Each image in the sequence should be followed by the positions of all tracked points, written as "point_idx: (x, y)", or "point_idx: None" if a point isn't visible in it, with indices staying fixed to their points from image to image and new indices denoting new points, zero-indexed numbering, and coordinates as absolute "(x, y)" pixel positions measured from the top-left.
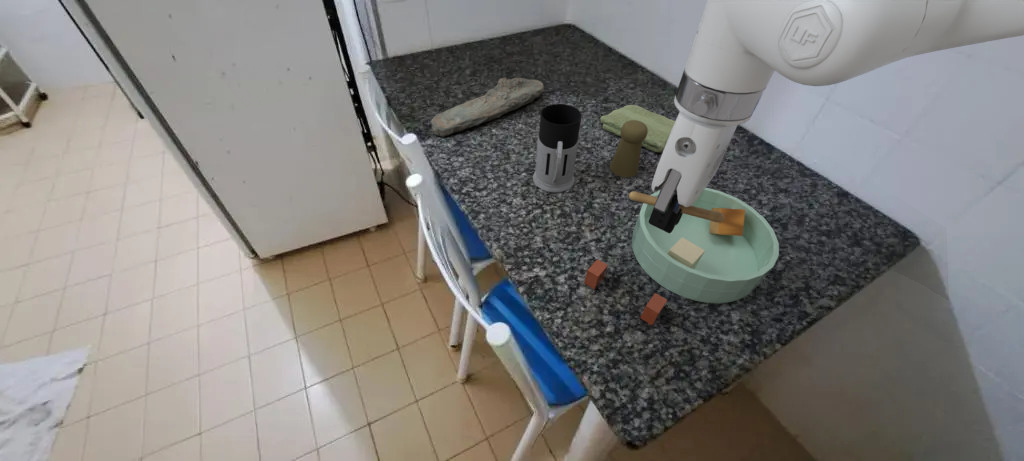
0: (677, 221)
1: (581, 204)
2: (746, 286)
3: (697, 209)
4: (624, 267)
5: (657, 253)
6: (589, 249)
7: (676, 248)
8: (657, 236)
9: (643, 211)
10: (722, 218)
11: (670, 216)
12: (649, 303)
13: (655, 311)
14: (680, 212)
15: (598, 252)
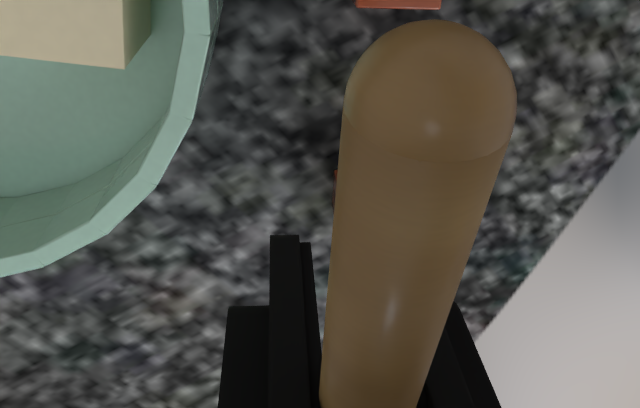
0: (305, 259)
1: (98, 366)
2: None
3: (419, 357)
4: (241, 140)
5: (196, 105)
6: (254, 259)
7: (89, 46)
8: (9, 119)
9: (19, 261)
10: (490, 64)
11: (478, 389)
12: (424, 3)
13: None
14: (464, 397)
15: (244, 234)
